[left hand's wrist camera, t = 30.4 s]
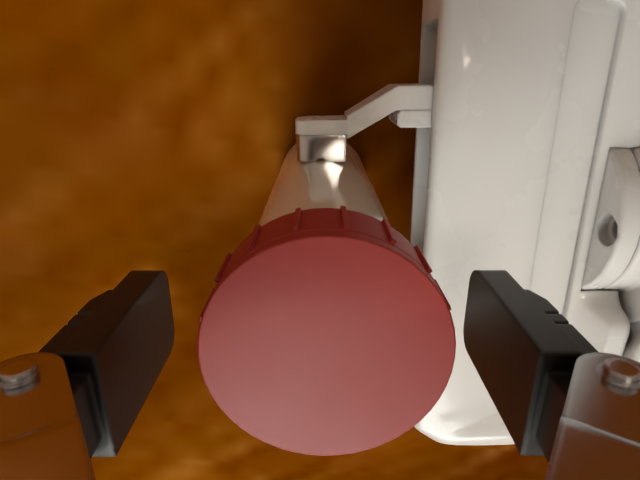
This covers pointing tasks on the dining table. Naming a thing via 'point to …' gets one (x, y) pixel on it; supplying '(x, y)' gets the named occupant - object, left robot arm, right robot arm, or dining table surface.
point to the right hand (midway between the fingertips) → (299, 213)
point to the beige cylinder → (322, 187)
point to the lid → (326, 333)
